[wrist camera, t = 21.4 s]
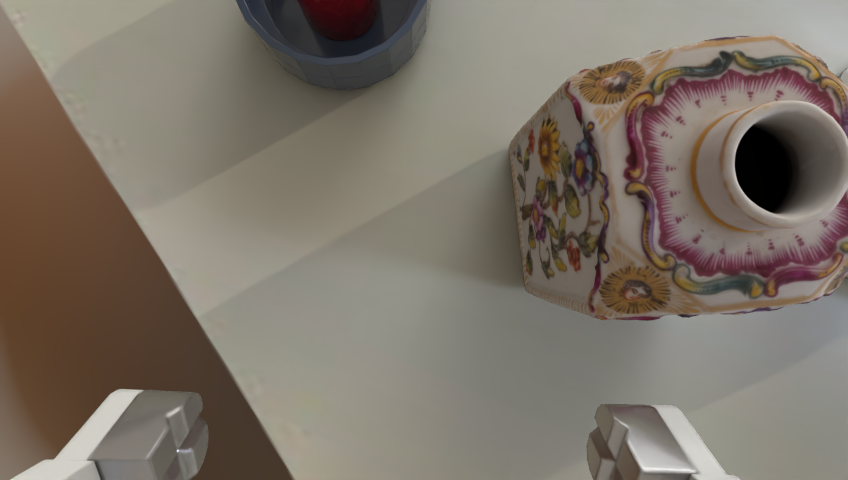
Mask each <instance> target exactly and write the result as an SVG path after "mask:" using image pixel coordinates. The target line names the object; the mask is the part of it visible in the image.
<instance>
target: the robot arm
mask: <svg viewBox="0 0 848 480" xmlns="http://www.w3.org/2000/svg"><path fill="white" fill-rule="evenodd" d="M840 79H841V80H842V81H843V82H844V84H845V85H846V86H847V88H848V68H847V69H846V70H845V71H844V72H843V74H842V75H841V77H840ZM846 277H848V275H847V276H846ZM202 408H203V404H202V400H201V396H200V394H198V393H195V392H177V391H159V390H131V389H118V390H116V391H114V392H113V393H111V394H110V395H109V396H108V397H107V398H106V399H105V401H104V402H103V403H102V404H101V405H100V406H99V408H98V409H97V410H96V411H95V412H94V413H93V414H92V416H91V417H90V418H89V419H88V420H87V421H86V423H85V424H84V425H83V426H82V427H81V428H80V430H79V431H78V432H77V433H76V434H75V435H74V437H73V438H72V439H71V440H70V441H69V442H68V443H67V445H66V446H65V447H64V448H63V449H62V450H61V452H60V453H59V454H58V455H57V456H56V458H55V459H54V460H43V461H42V462H40V463H38V464H36V465H35V466H33V467H31V468H29V469H28V470H26V471H24V472H22V473H21V474H19V475H17V476H15V477H14V478H12V479H10V480H190V479H191V478H192V477H194V476H195V475H196V474H197V473H198V471H199V469H200V467H201V465H202V463H203V460H204V458H205V454H206V450H207V446H208V428H207V424H206V423H205V422H204V421H203V420H202V419H201V418H200V417H199V416H198V415H199V413H200V412H201V410H202ZM594 418H595V420H596V423H597V425H598V427H597V428H596V429H595V430H593V431H592V432H591V433H590V434H589V438H588V443H587V461H588V465H589V469H590V472H591V475H592V478H593V480H741V479H739V478H738V477H737V476H734V475H727V474H726V473H725V471H724V470H723V468H722V467H721V466H720V464H719V463H718V462H717V460H716V459H715V457H714V456H713V455H712V453H711V452H710V450H709V449H708V448H707V446H706V445H705V443H704V442H703V441H702V439H701V438H700V437H699V435H698V434H697V432H696V431H695V430H694V428H693V427H692V425H691V424H690V423H689V421H688V420H687V418H686V417H685V416H684V414H683V413H682V411H681V410H680V409H679V408H677V407H676V406H674V405H627V404H601V405H600V406H599V407H598V408H597V411H596V414H595V417H594Z"/></svg>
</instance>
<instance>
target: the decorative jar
mask: <svg viewBox="0 0 848 480" xmlns="http://www.w3.org/2000/svg"><path fill="white" fill-rule="evenodd" d="M509 155H510V164H511V172H512V180H513V189H514V198H515V205H516V216H517V224H518V234H519V242H520V248H521V256H522V265H523V274H524V285H525V289H526V291H527V292H528V293H531V294H533V295H535V296H537V297H539V298H541V299H544V300H546V301H549V302H551V303H554V304H557V305H560V306H563V307H566V308H570V309H572V310H575V311H578V312H581V313H584V314H587V315H590V316H592V317H595V318H598V319H601V320H610V319H620V320H655V319H659V318H660V317H662V316H664V315H678V316H681V317H688V318H689V317H692V316H697V315H701V314H702V315H711V314H733V315H734V314H745V313H751V312H756V311H772V310H777V309H780V308H782V307H785V306H787V305H792V304H803V303H809V302H811V301H814V300H817V299H819V298H820V297H821V296H829V295H831V294H832V293H833V291H834V290H835V289H836V288H837V287H839V286H840V285H841V283H842V281H843V279H844V278H845V277H846V276H847V275H848V88H847V86H846V85H845V84H844V82H843V81H842V80H841V79H840V78H838V77H837V76H835V75H834V74H833V73H831V72H830V71H829V70H828V68H827V65H826V64H825V62H824V61H823V60H822V59H820V58H819V57H816V56H813V55H811V54H809V53H808V52H806V51H805V50H803V49H802V48H800V47H799V46H798V45H796V44H794V43H789V42H788V41H786V40H785V39H784V38H782V37H779V36H774V35H769V36H758V37H752V36H737V37H724V38H716V39H710V40H705V41H702V42H700V43H697V44H692V45H684V46H678V47H673V48H670V49H667V50H657V51H654V52H651V53H650V54H648V55H646V56H644V57H640V58H627V59H623V60H620V61H617V62H615V63H612V64H607V65H602V66H599V67H597V68H594V69H584V70H582V71H580V72H579V73H577V74H575V75H573V76H571V77H570V78H568V79H567V80H566V81H565V82H564V83H563V84H562V85H561V86H560V87H559V89H558V90H557V91H556V92H555V93H554V94H552V96H551V97H550V98H549V99H548V100H547V101H546V102H545V103H544V104H543V105H542V106H541V108H540V109H539V110H538V111H537V112H536V113H535V114H534V115H533V116H532V117H531V119H530V120H529V121H527V123H526V124H525V125H524V126H523V127H522V128H521V129H520V130H519V131H518V133H517V134H516V135H515V136H514V138H513V139H512V141H511V143H510V146H509Z"/></svg>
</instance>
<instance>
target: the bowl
mask: <svg viewBox="0 0 848 480" xmlns="http://www.w3.org/2000/svg"><path fill="white" fill-rule="evenodd" d="M236 1H237V4H238V6H239V8H240V10H241V12H242V14H243V16H244V18H245V20H246V22H247V23H248V25H249V26H250V27H251V29H252V30H253V31H254V33H255V34H256V35H257V37H258V38H259V39H260V41H261V42H262V43H263V45H264V46H265V47H266V49H267V50H268V51H269V53H270V54H271V55H272V56H273V57H274V58H275V59H276V60H277V61H278V62H279V63H280V64H281V65H282V66H283V67H284V69H285V70H287V71H288V72H289V73H291V74H293V75H295V76H297V77H299V78H300V79H302V80H304V81H306V82H308V83H309V84H312V85H316V86H321V87H326V88H331V89H337V90H344V89H353V88H361V87H366V86H370V85H372V84H374V83H376V82H378V81H381V80H383V79H385V78H387V77H389V76H391V75H393V74H394V73H395V72H396V71H397V70H398V69H399V68H400V67H401V66H402V65H404V64H405V63H406V62H407V61H408V60H409V59H410V58H411V57H412V56H413V54H414V52H415V50H416V49H417V47H418V45H419V43H420V41H421V40H422V38H423V36H424V34H425V32H426V27H427V22H428V17H429V11H430V5H431V0H380V10H379V14H378V16H377V19H376V21H375V22H374V24H373V25H372V27H371V28H370V29H369V30H368V31H367V32H365V33H364V34H363V35H361V36H359V37H357V38H354V39H351V40H345V41H338V40H332V39H329V38H326V37H324V36H322V35H320V34H319V33H317V32H316V31H315V30H314V29H313V28H312V27H311V26H310V25H309V23H308V22H307V20H306V18H305V16H304V14H303V12H302V9H301V7H300V5H299V3H298V1H297V0H236Z"/></svg>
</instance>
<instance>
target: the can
mask: <svg viewBox="0 0 848 480" xmlns="http://www.w3.org/2000/svg"><path fill="white" fill-rule="evenodd" d="M297 1H298V3H299V5H300V7H301V9H302V12H303V14H304V16H305V18H306V20H307V22H308V23H309V25H310V26H311V27H312V28H313V29H314V30H315V31H316V32H317V33H319V34H320V35H322V36H324V37H326V38H329V39H332V40H338V41H345V40H351V39H354V38H357V37H359V36H361V35H363V34H364V33H365V32H367V31H368V30H369V29H370V28H371V27H372V25H373V24H374V22H375V21H376V19H377V16H378V14H379V10H380V0H297Z"/></svg>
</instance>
